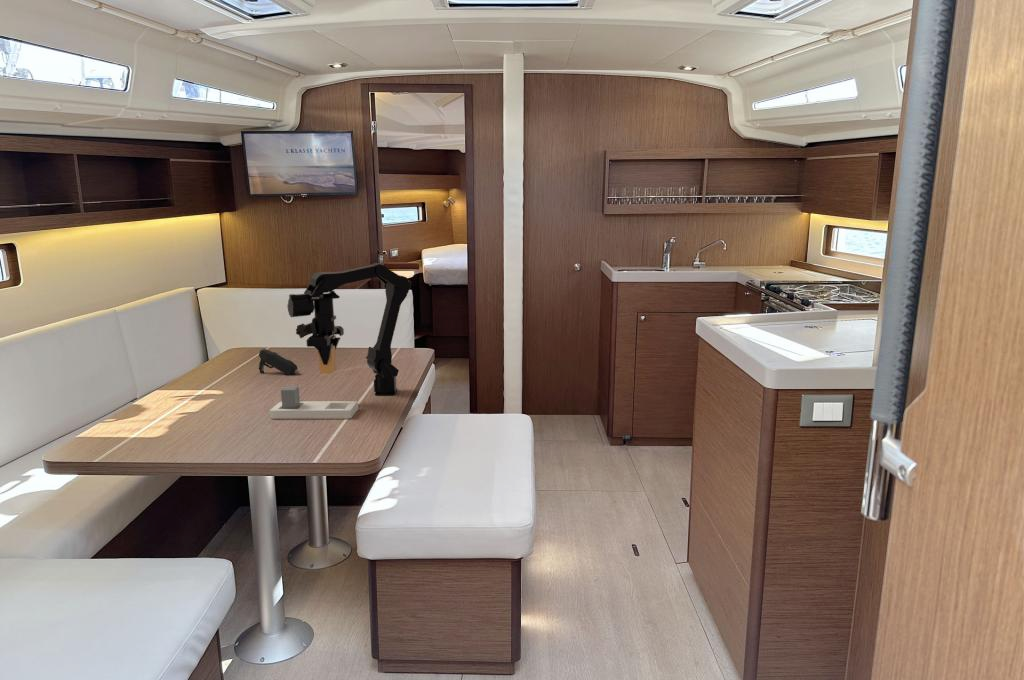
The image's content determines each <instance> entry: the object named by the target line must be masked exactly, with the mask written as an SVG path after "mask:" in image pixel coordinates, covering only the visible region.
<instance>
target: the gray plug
mask: <svg viewBox="0 0 1024 680" xmlns="http://www.w3.org/2000/svg"><path fill="white" fill-rule="evenodd" d="M280 396H281V398H280V399H281V402H282V409H298V408H299V407H300V401H301V397H300V387H299V385H298V386H297V385H295V386H284V387H282V389H280Z"/></svg>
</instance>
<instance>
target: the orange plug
mask: <svg viewBox="0 0 1024 680" xmlns="http://www.w3.org/2000/svg"><path fill="white" fill-rule="evenodd" d="M317 352H318V363H319V374H334V373H335V372H336V371H337V358H336V350H335V345H333V346H332V350H331V353H330V357H329V361H328V364H327V365H324V364H323V362H322V359H321V356H320V354H319V351H318V350H317Z"/></svg>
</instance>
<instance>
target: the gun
mask: <svg viewBox="0 0 1024 680" xmlns="http://www.w3.org/2000/svg"><path fill="white" fill-rule="evenodd" d="M258 357H259V358H260V360H259V363H258V369H259V373H260V374H263V375H264V374H265V371H264V368H265V367H267V368H269V369H273V368H275V369H276V370H278V371H280V372H281V373H283V374H285V375H287V376H294V375H296V374H299V373H300V370H298V366H297V364H295V363H294V362H293V361H292V360H291V359H289V358H288V357H286V356H284V355H282V354H280V353H278V352H275V351H271V350H268V349H267V348H263V349H261V350H260V351H259V353H258Z"/></svg>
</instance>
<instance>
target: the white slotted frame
mask: <svg viewBox="0 0 1024 680" xmlns="http://www.w3.org/2000/svg"><path fill="white" fill-rule="evenodd" d="M358 410H359V401H356V400H351V401H350V400H347V401H345V400H343V401H342V400H341V401H339V400H337V401H330V400H329V401H326V400H325V401H324V400H323V401H319V400H318V401H317V400H315V401H310V400H309V401H307V400H305V401H304V400H303V401H301V400H300V407H299V408H298V409H282V401H279V402H277V404H276V405H274V406H273V407H272V408H271V409H269V412H268V413H269V419H271V420H273V419H275V420H277V419H280V420H284V419H285V420H287V419H288V420H290V419H291V420H292V419H295V420H297V419H299V420H302V419H303V420H305V419H307V420H308V419H313V420H314V419H316V420H317V419H318V420H319V419H321V420H323V419H325V420H326V419H327V420H330V419H335V420H337V419H340V420H341V419H343V420H344V419H345V420H346V419H347V420H348V419H352V417H353V416H354V415H355V414H356V412H357V411H358Z"/></svg>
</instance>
